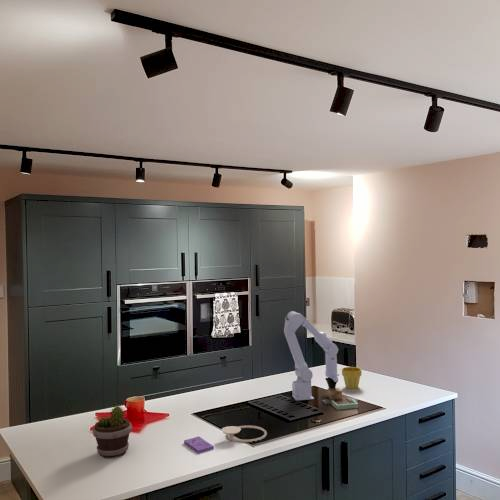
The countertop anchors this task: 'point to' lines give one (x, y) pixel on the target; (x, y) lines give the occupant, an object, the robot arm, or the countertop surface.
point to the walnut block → (334, 393)
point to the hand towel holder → (233, 430)
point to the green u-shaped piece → (343, 406)
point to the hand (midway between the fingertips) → (332, 392)
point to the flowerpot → (112, 434)
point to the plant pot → (351, 376)
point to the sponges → (198, 444)
